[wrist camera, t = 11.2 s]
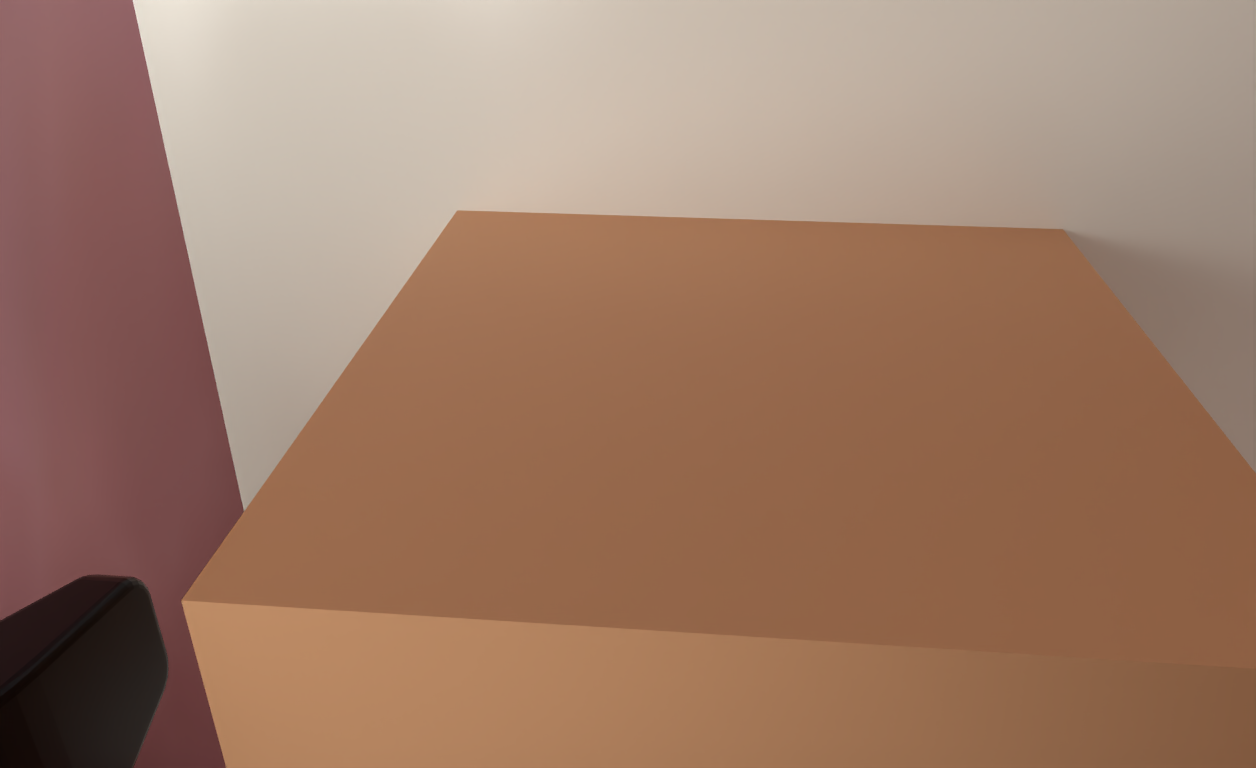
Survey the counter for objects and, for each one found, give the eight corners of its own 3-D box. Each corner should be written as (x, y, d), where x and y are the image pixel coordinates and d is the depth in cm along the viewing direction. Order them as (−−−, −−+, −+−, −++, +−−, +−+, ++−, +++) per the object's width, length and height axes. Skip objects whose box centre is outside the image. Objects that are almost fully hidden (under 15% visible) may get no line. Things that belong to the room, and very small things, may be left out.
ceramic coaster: (332, 728, 13) (304, 792, 13) (169, -127, 9) (106, -121, 8) (1127, 787, 13) (1155, 859, 12) (1435, -118, 8) (1521, -110, 7)
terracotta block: (494, 651, 11) (338, 1188, 7) (457, 209, 9) (181, 601, 4) (964, 683, 11) (1121, 1272, 6) (1063, 229, 8) (1418, 680, 4)
